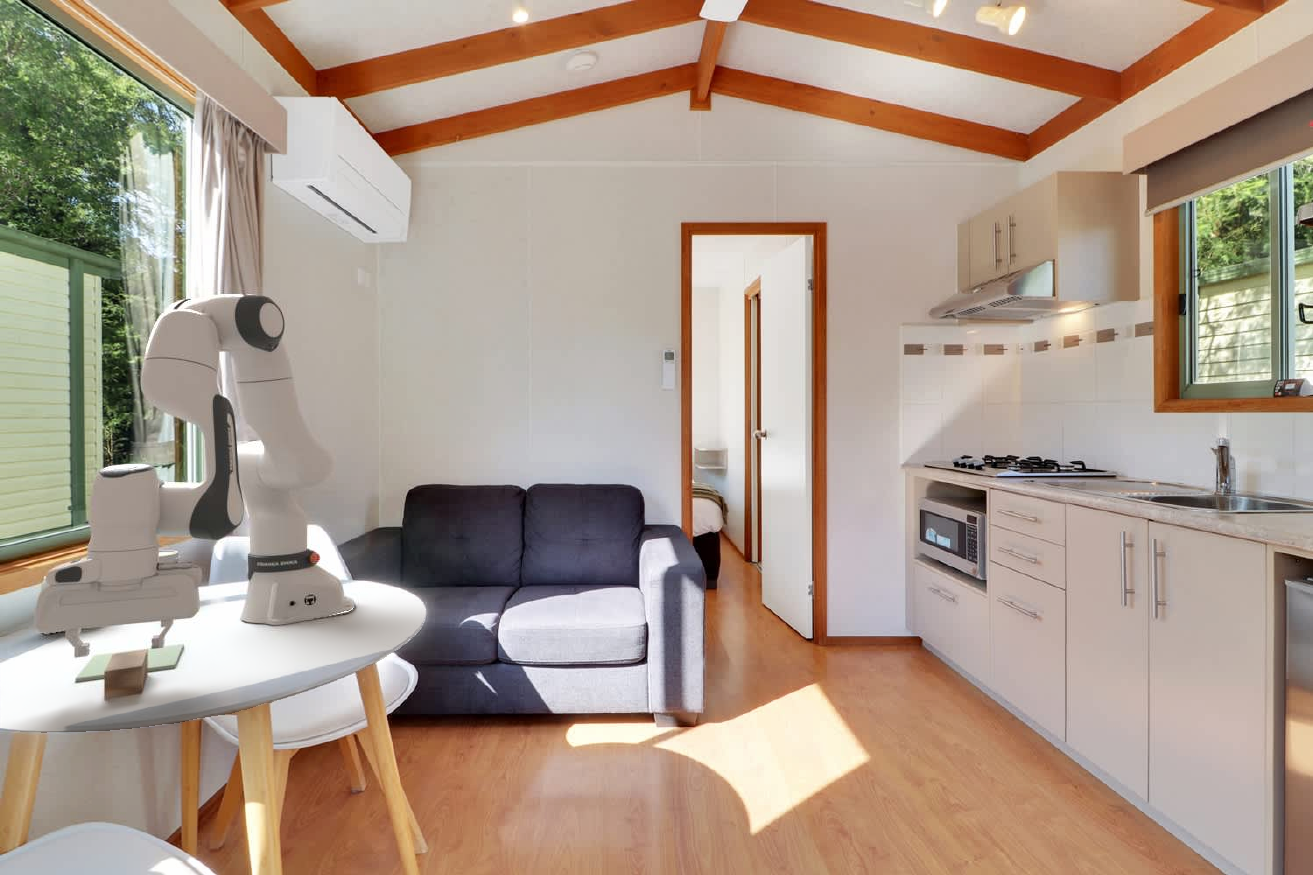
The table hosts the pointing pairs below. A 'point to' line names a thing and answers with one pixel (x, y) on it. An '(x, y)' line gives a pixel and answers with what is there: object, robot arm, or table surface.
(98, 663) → the rubber mat
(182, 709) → the table surface
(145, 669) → the box
